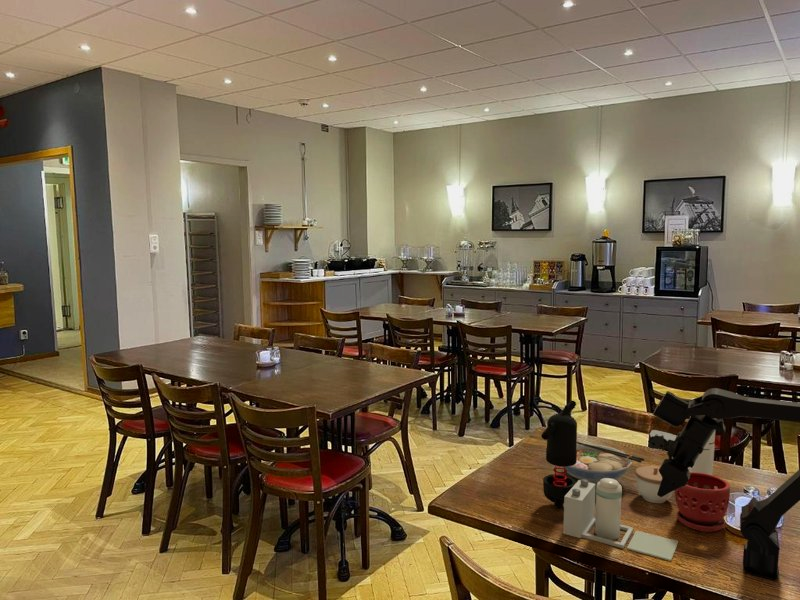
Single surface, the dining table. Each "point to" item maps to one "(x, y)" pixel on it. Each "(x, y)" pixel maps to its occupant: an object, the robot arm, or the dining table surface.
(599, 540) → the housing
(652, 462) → the dining table surface
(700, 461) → the cylindrical container
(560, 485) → the black spring figurine
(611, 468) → the ramen bowl
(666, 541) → the mat
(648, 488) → the lidded jar
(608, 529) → the cartridge
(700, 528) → the plant pot
